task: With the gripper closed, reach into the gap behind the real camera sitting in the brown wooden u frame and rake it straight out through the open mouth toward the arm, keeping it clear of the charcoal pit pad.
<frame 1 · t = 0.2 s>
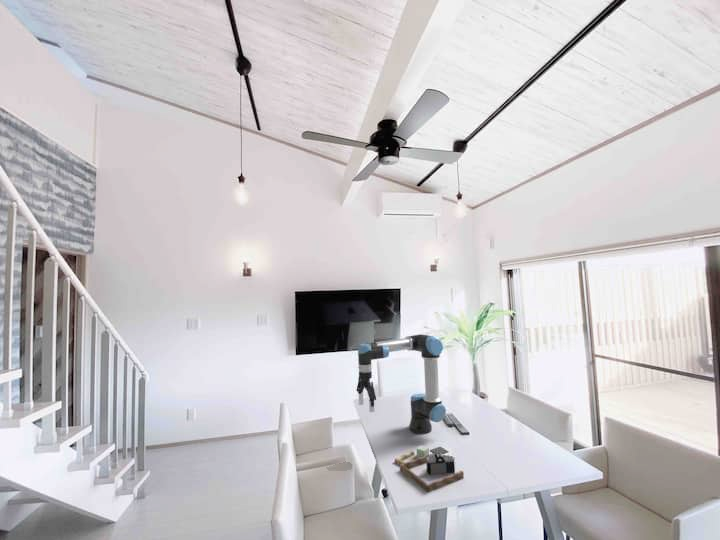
hand: (366, 408, 192), 28 cm above the table, fingers open, 13 cm apart
crook: (404, 458, 188), on the table
brown wooden u frame: (431, 474, 172), on the table
pit pad: (439, 451, 195), on the table
sage cube: (423, 457, 189), on the table
camera: (440, 471, 174), on the table
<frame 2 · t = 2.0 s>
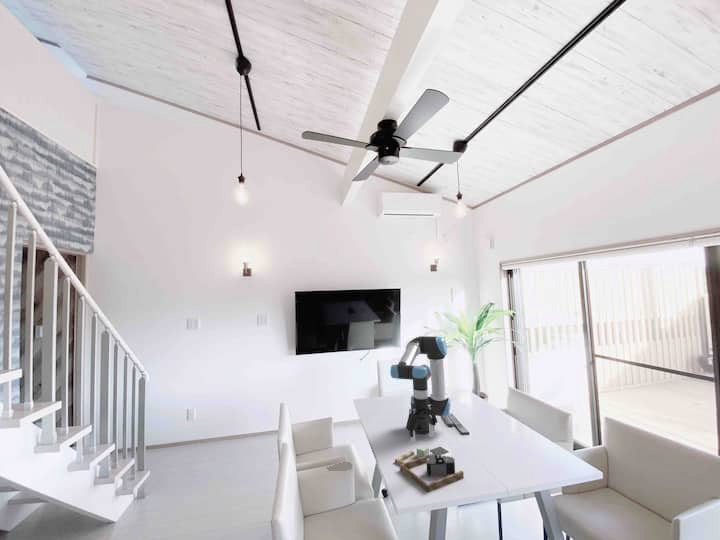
hand: (422, 440, 171), 18 cm above the table, fingers open, 11 cm apart
camera: (440, 472, 173), on the table
everything else where it was.
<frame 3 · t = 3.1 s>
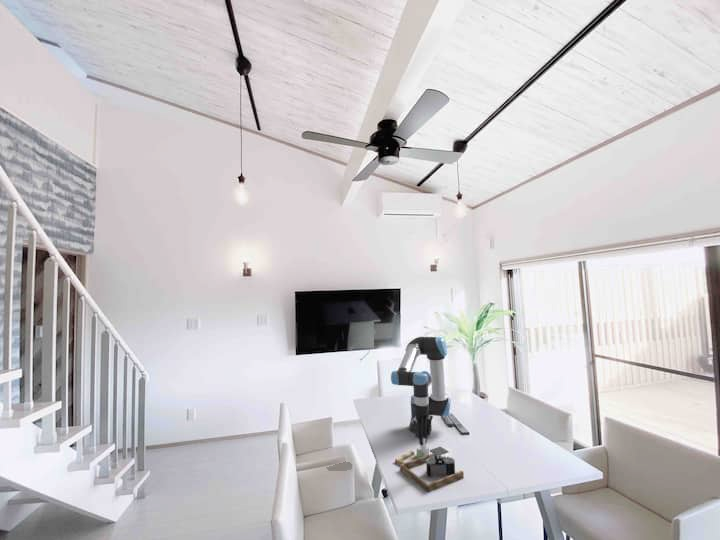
hand: (423, 450, 170), 13 cm above the table, fingers closed
nothing on the table moved.
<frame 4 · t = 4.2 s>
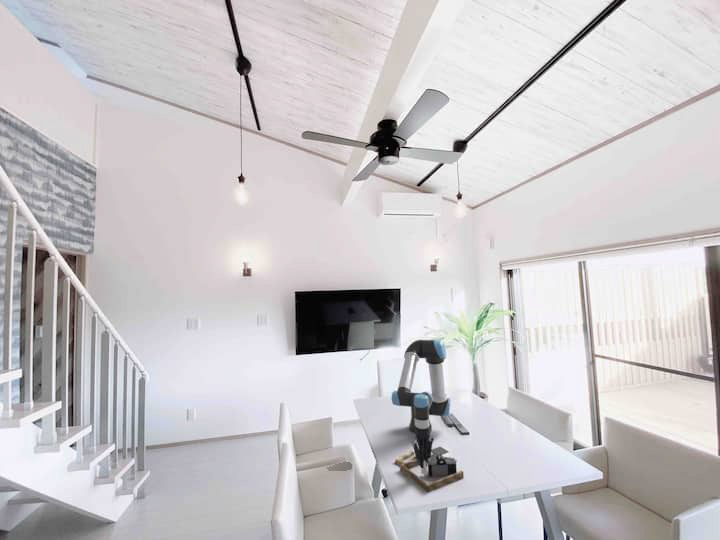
hand: (424, 473, 170), 2 cm above the table, fingers closed
camera: (441, 473, 172), on the table, touching gripper
everything else where it was.
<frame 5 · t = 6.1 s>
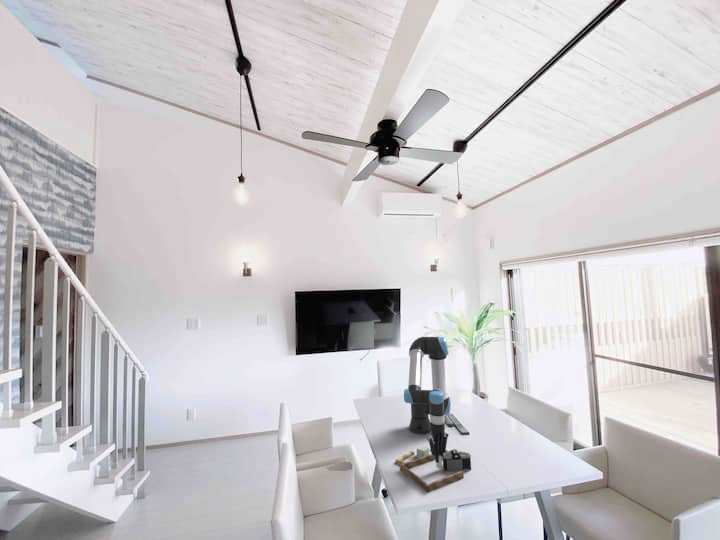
hand: (439, 468, 174), 2 cm above the table, fingers closed
camera: (456, 467, 177), on the table, touching gripper
everything else where it was.
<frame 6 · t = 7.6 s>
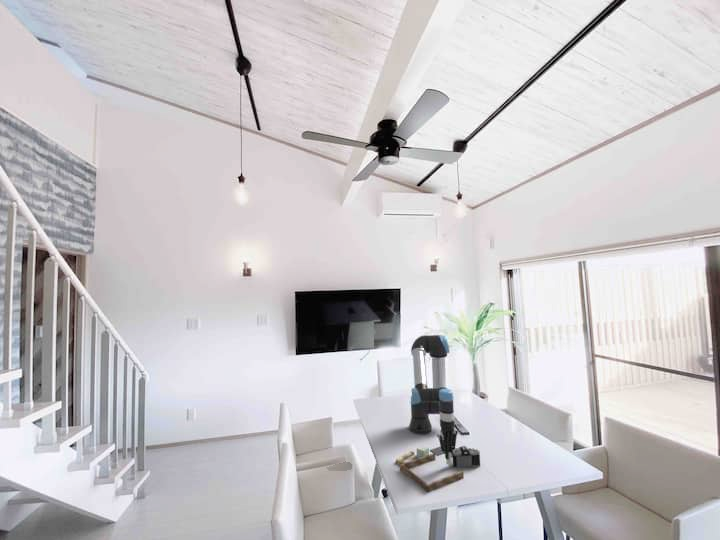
hand: (449, 464, 178), 2 cm above the table, fingers closed
camera: (465, 464, 180), on the table, touching gripper
everything else where it was.
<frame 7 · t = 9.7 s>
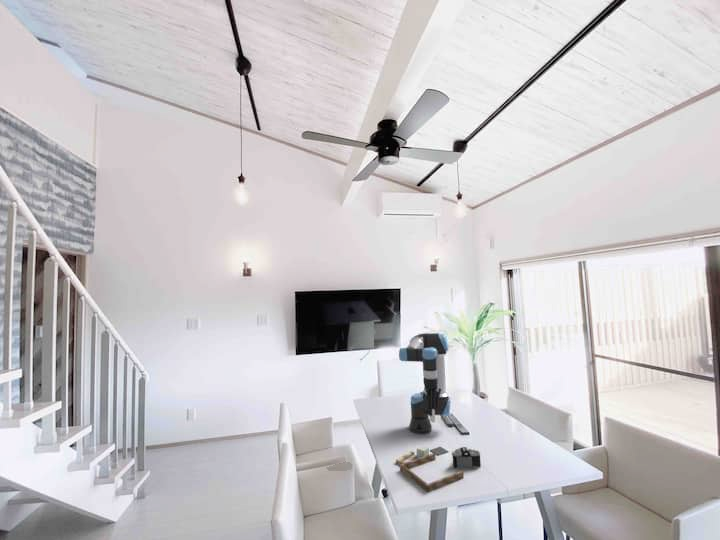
hand: (432, 421, 179), 24 cm above the table, fingers closed
camera: (466, 465, 180), on the table
everything else where it was.
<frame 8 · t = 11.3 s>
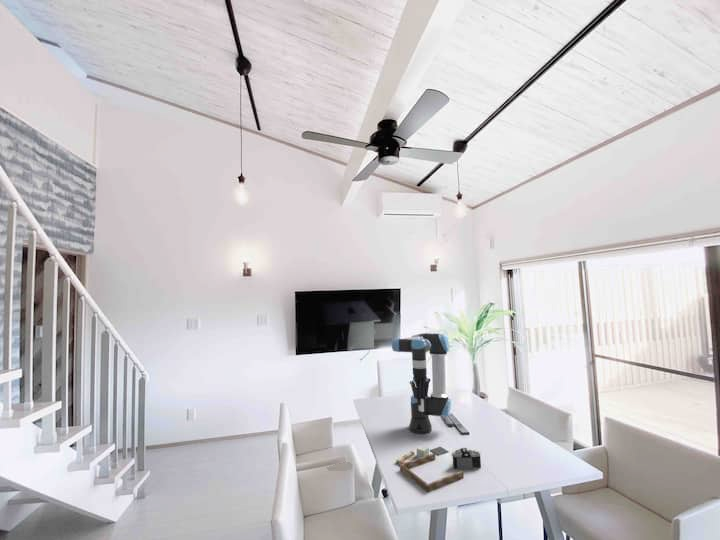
hand: (421, 410, 181), 29 cm above the table, fingers closed
nothing on the table moved.
at the end: camera inside the target area (3.7 cm from its centre), on the table; camera tilted 0°; camera touching table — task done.
